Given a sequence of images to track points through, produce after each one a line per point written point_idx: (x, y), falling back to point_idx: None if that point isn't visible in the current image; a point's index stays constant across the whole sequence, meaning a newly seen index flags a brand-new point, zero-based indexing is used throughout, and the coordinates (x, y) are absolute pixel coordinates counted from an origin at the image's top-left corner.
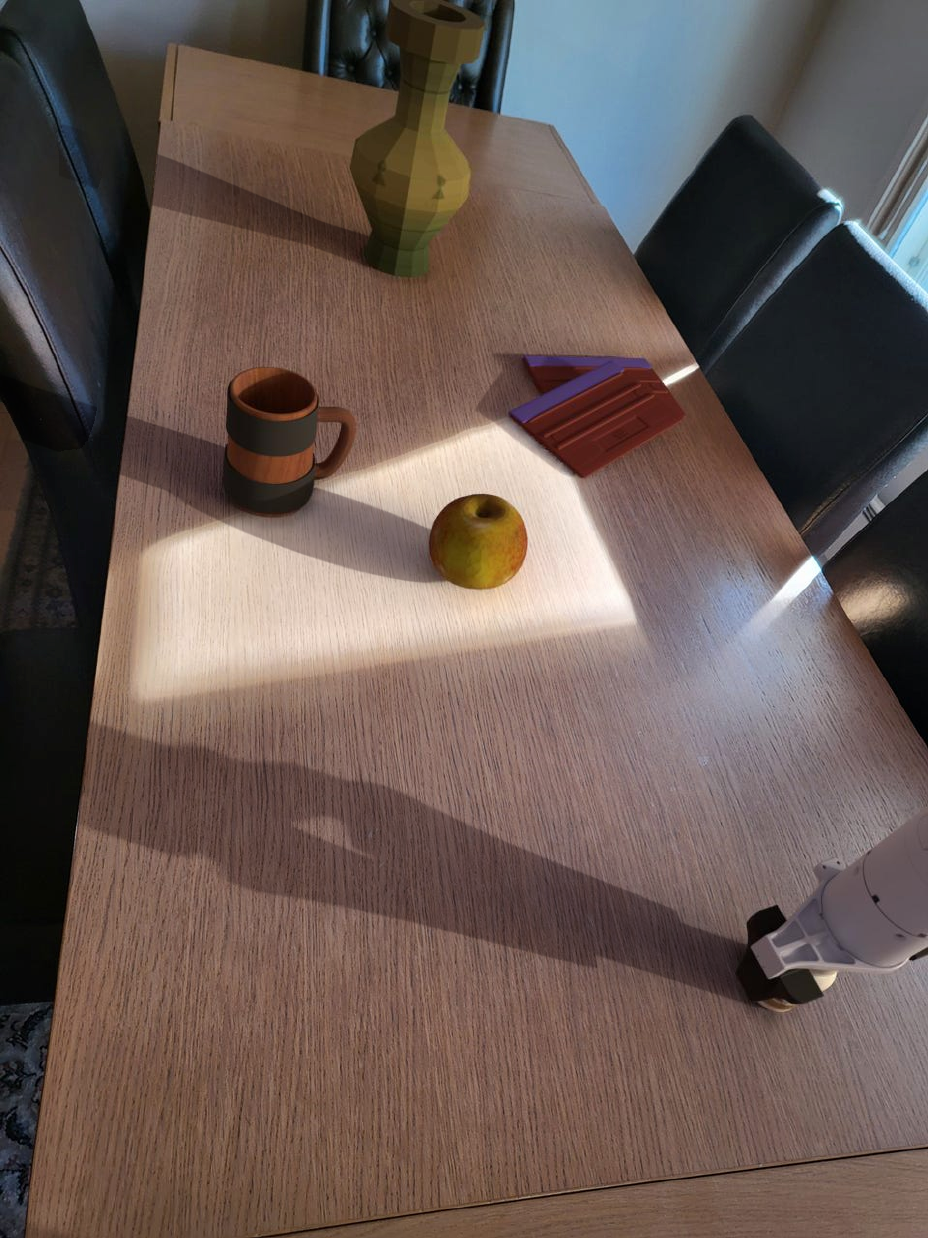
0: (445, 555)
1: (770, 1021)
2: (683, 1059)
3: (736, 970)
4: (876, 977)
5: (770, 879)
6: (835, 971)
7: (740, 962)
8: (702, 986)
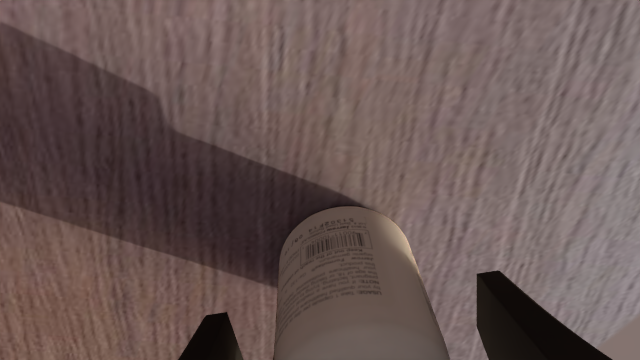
0: None
1: None
2: (114, 347)
3: (203, 319)
4: (594, 268)
5: (487, 35)
6: None
7: (185, 348)
8: (185, 253)
